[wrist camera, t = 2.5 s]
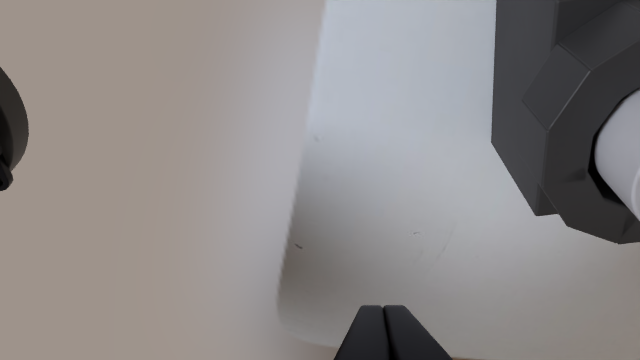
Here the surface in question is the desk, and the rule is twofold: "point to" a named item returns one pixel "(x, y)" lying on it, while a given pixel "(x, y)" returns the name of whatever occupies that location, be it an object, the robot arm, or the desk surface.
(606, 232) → the push button base
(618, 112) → the gray round disc
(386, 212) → the desk surface
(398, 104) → the desk surface
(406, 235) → the desk surface
